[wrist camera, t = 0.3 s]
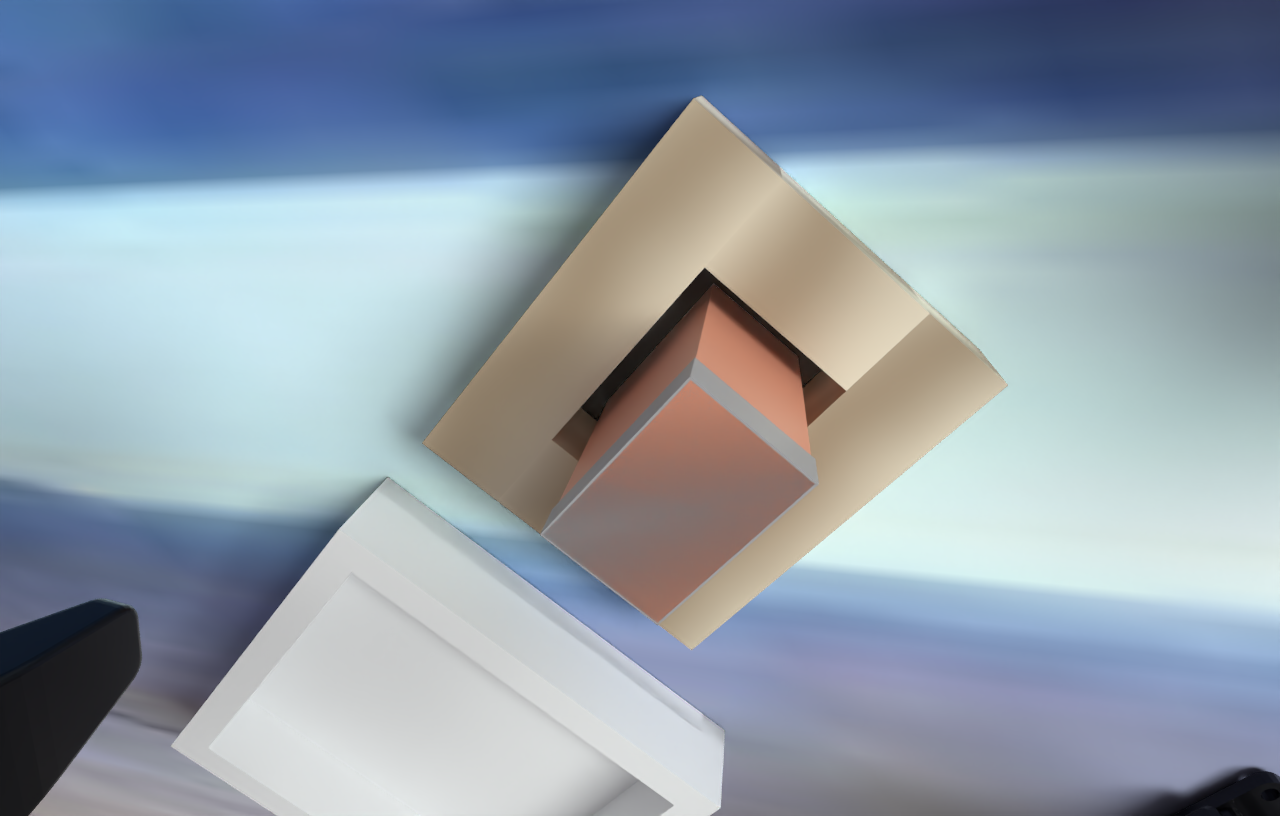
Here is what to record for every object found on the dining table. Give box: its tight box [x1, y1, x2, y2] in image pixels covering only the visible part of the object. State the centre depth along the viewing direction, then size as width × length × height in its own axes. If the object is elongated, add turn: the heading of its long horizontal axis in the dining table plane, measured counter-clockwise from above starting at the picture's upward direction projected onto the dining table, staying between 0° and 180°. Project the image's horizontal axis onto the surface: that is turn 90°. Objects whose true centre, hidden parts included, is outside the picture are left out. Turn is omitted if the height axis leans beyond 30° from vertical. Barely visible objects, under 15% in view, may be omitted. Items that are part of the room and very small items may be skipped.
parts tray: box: [171, 477, 725, 816], centre depth 26 cm, size 14×12×3 cm
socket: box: [422, 96, 1008, 650], centre depth 20 cm, size 9×11×2 cm
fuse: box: [540, 283, 819, 625], centre depth 18 cm, size 3×5×7 cm
